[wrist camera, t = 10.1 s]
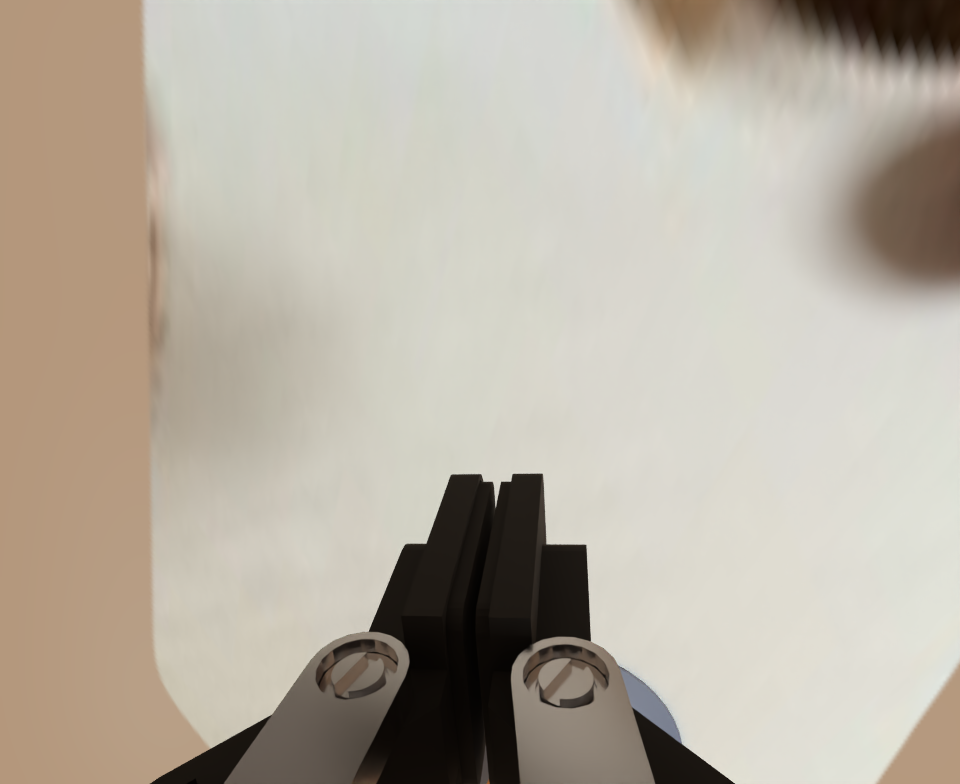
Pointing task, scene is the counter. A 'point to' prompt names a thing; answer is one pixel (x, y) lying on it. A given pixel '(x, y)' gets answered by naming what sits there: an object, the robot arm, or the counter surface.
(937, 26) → the counter surface
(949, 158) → the counter surface
